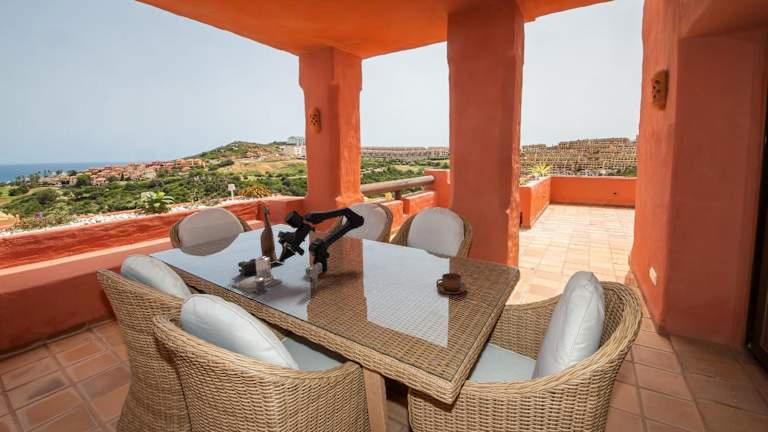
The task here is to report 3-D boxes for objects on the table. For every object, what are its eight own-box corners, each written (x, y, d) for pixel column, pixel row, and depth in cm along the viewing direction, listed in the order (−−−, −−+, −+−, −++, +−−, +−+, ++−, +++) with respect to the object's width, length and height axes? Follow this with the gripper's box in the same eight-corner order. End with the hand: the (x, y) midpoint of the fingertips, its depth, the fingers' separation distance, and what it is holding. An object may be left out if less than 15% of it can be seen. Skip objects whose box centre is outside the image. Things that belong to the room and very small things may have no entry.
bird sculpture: (268, 269, 173) (263, 206, 168) (253, 266, 179) (247, 205, 174) (285, 263, 182) (280, 203, 177) (270, 260, 188) (265, 202, 183)
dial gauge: (267, 292, 142) (266, 279, 141) (257, 294, 140) (256, 281, 139) (264, 289, 145) (262, 276, 144) (254, 292, 143) (253, 278, 142)
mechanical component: (324, 284, 149) (323, 262, 148) (311, 293, 140) (310, 269, 138) (318, 284, 150) (316, 261, 149) (305, 292, 141) (304, 269, 139)
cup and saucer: (448, 299, 131) (448, 283, 130) (430, 289, 142) (430, 274, 141) (473, 292, 137) (473, 277, 136) (453, 283, 147) (453, 269, 146)
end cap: (245, 278, 161) (244, 264, 160) (238, 275, 165) (236, 261, 164) (265, 272, 168) (263, 259, 167) (257, 270, 173) (256, 256, 172)
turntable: (262, 276, 162) (262, 273, 162) (281, 282, 153) (281, 279, 153) (231, 286, 151) (231, 282, 151) (250, 293, 142) (250, 289, 141)
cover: (275, 276, 158) (274, 254, 156) (270, 282, 150) (268, 259, 148) (258, 276, 158) (256, 254, 156) (252, 282, 150) (250, 259, 148)
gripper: (280, 221, 165) (259, 248, 160) (295, 226, 150) (272, 256, 145) (297, 235, 171) (277, 261, 166) (313, 241, 156) (292, 270, 151)
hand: (279, 261), depth 157 cm, fingers closed
